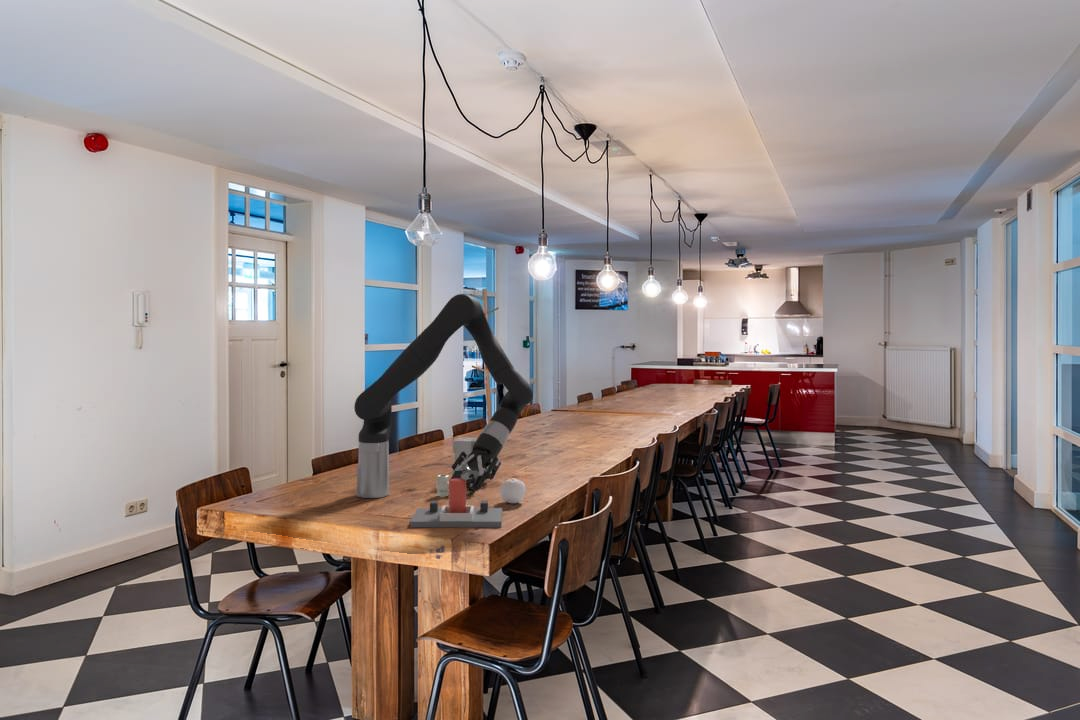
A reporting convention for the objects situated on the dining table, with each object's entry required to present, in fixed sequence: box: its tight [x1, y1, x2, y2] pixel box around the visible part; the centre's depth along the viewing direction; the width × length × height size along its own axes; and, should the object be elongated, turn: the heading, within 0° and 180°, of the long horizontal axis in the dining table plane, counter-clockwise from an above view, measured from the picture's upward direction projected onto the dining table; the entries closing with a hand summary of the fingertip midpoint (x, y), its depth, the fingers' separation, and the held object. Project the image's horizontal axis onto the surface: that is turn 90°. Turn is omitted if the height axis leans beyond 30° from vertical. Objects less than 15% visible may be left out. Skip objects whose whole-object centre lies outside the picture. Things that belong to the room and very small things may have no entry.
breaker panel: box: [409, 500, 503, 528], centre depth 182 cm, size 24×14×4 cm, turn 92°
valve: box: [435, 474, 476, 498], centre depth 211 cm, size 7×7×12 cm
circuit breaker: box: [451, 437, 492, 480], centre depth 230 cm, size 8×14×15 cm, turn 81°
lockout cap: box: [448, 478, 467, 513], centre depth 179 cm, size 5×5×10 cm
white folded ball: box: [499, 477, 527, 504], centre depth 202 cm, size 8×8×8 cm
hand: (462, 487), depth 181 cm, fingers open, 8 cm apart
